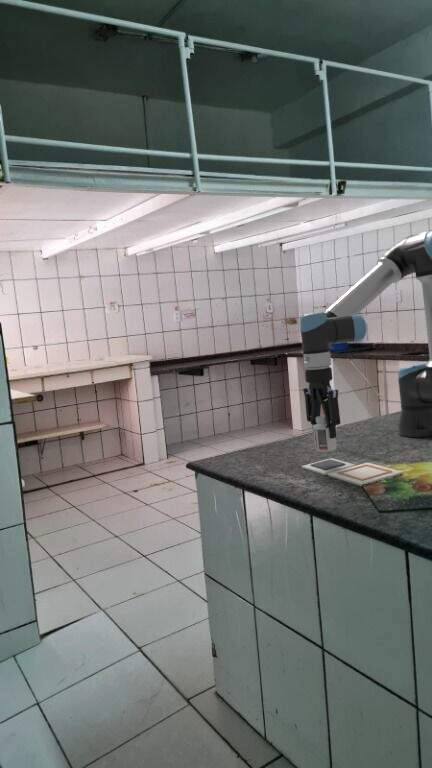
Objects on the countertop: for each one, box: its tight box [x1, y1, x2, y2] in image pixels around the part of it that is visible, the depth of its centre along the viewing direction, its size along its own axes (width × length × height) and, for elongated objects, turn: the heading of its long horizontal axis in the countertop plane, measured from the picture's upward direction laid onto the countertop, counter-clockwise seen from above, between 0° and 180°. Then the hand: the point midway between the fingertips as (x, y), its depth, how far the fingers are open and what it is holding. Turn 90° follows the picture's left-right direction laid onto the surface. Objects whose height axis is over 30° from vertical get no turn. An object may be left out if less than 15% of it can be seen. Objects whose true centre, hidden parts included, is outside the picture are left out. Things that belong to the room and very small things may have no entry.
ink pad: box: [300, 457, 356, 476], centre depth 163 cm, size 11×11×1 cm
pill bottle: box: [314, 415, 335, 453], centre depth 162 cm, size 5×5×10 cm
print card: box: [327, 462, 404, 487], centre depth 152 cm, size 14×14×1 cm
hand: (325, 447), depth 162 cm, fingers closed on pill bottle, 5 cm apart
